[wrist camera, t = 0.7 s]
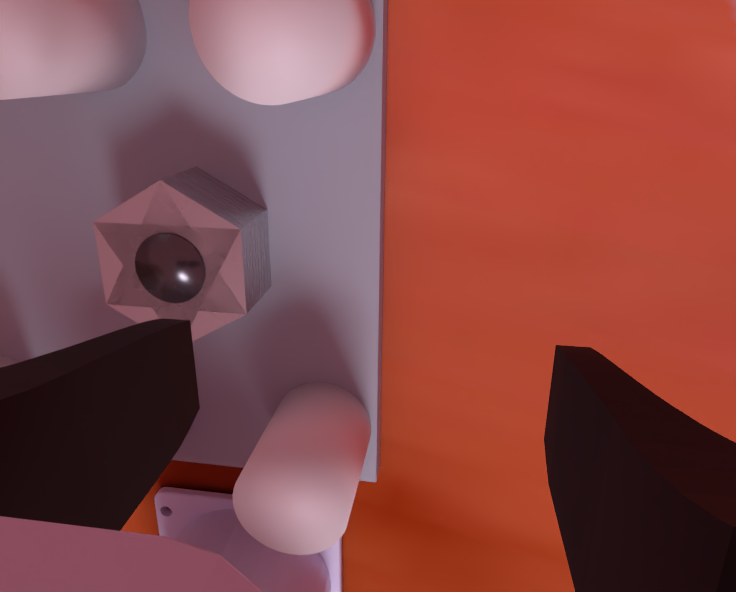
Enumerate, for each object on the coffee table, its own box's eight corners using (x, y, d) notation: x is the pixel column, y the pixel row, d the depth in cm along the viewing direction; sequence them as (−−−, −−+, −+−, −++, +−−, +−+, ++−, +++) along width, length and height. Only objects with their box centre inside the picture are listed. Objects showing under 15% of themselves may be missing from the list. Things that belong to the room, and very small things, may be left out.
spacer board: (379, 465, 24) (355, 575, 19) (-126, 413, 27) (-263, 493, 22) (388, -57, 17) (355, -105, 12) (-278, -44, 21) (-521, -78, 16)
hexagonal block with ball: (303, 269, 20) (281, 297, 18) (182, 332, 22) (147, 364, 20) (229, 146, 19) (195, 158, 17) (106, 221, 21) (59, 242, 19)
